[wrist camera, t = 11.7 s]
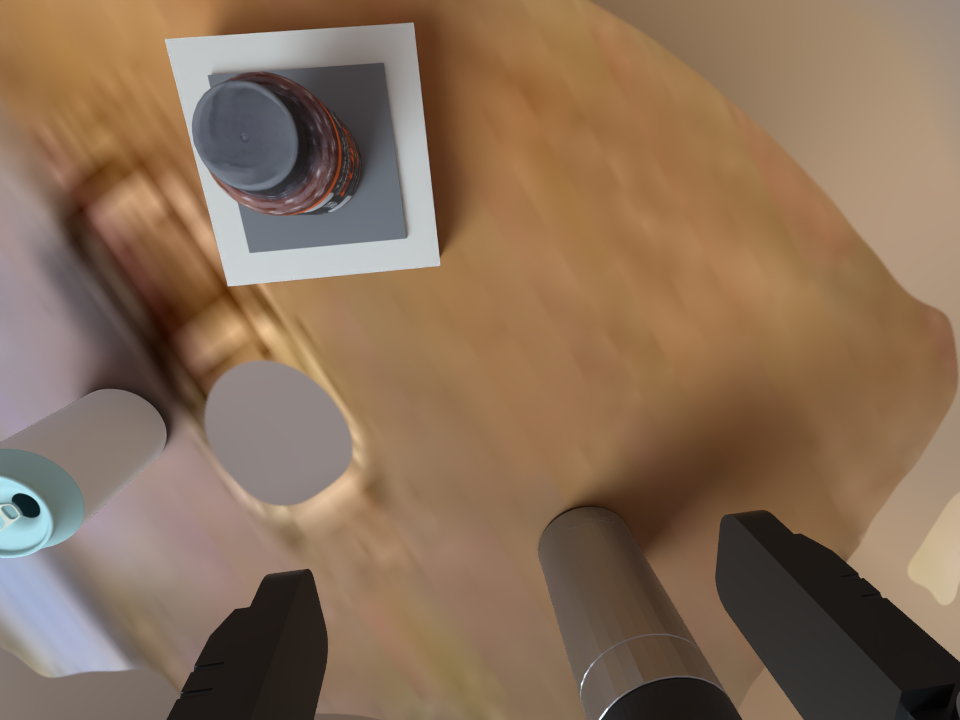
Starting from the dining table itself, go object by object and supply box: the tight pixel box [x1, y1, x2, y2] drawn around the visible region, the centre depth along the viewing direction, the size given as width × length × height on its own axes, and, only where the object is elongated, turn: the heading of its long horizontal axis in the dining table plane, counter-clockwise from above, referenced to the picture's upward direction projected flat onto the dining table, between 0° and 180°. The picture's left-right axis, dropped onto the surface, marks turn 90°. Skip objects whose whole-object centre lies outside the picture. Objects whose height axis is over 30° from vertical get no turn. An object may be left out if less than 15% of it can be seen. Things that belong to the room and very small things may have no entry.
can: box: [0, 389, 167, 558], centre depth 33 cm, size 7×7×12 cm
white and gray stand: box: [165, 23, 440, 286], centre depth 31 cm, size 14×14×5 cm
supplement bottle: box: [192, 72, 362, 216], centre depth 24 cm, size 6×6×11 cm
